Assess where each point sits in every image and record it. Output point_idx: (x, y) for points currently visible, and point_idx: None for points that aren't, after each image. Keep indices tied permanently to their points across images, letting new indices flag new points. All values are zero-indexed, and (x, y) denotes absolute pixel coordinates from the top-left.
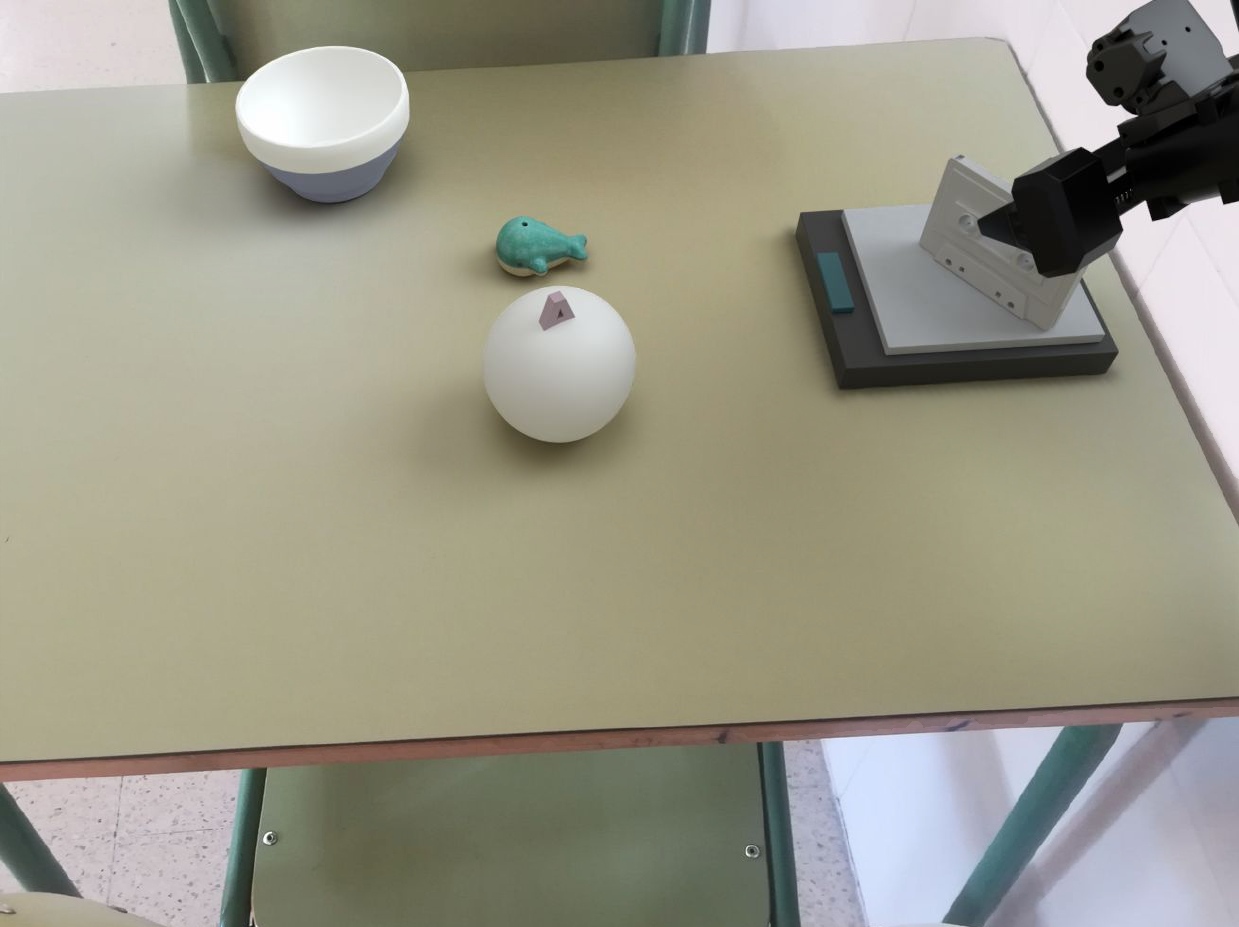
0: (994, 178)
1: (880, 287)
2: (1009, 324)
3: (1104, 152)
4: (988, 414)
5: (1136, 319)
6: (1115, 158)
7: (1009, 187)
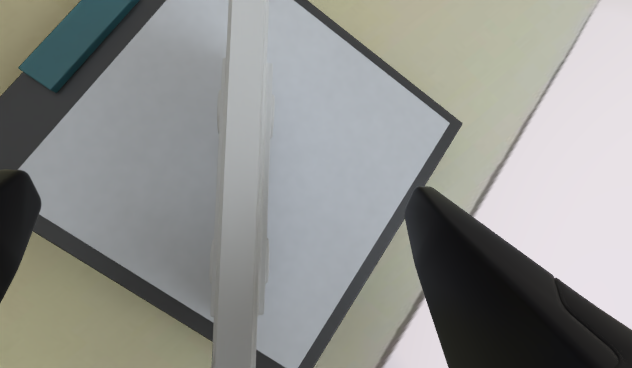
0: (245, 82)
1: (113, 90)
2: (201, 274)
3: (465, 260)
4: (108, 335)
5: (396, 327)
6: (468, 299)
7: (243, 131)
